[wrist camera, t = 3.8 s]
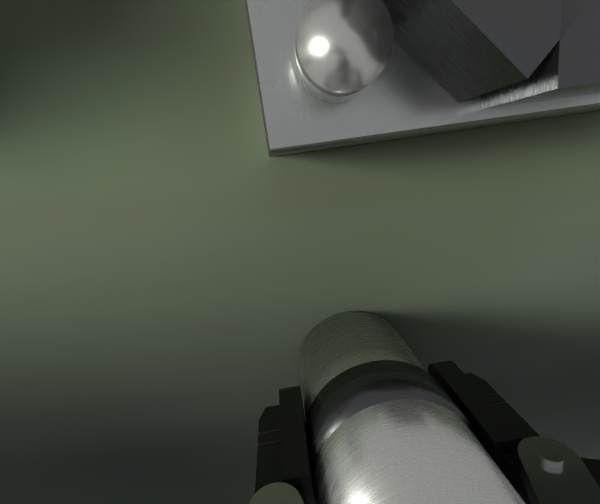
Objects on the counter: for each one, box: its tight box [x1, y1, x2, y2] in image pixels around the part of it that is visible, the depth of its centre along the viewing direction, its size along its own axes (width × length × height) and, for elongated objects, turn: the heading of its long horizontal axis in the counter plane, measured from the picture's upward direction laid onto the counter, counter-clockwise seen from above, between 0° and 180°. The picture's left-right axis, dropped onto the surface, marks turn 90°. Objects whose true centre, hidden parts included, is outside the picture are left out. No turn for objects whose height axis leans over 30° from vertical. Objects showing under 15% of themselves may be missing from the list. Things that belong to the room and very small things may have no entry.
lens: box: [299, 311, 526, 504], centre depth 10 cm, size 5×5×8 cm
